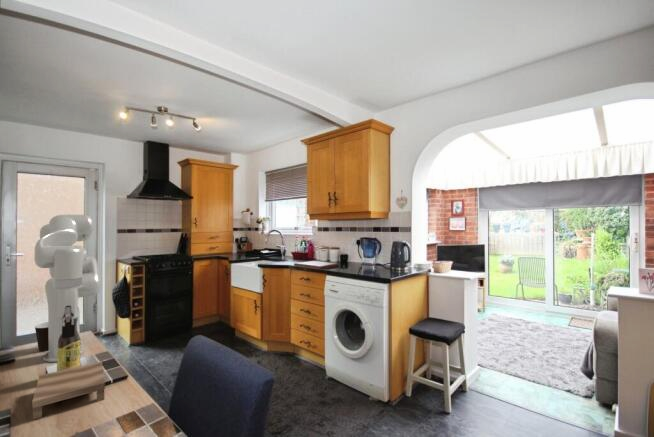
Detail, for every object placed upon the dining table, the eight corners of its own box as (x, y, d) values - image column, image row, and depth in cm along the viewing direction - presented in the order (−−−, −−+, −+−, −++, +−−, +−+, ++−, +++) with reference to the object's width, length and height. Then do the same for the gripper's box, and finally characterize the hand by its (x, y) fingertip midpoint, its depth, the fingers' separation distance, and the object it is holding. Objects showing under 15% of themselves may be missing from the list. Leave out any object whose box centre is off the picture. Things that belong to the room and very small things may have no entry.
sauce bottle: (66, 381, 106) (66, 321, 105) (51, 379, 107) (51, 320, 107) (85, 371, 112) (85, 315, 112) (71, 370, 113) (70, 314, 113)
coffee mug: (39, 354, 126) (39, 329, 126) (31, 349, 131) (31, 325, 131) (74, 344, 136) (74, 321, 136) (66, 340, 141) (66, 317, 141)
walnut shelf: (39, 391, 100) (39, 375, 100) (101, 375, 109) (101, 361, 109) (32, 420, 85) (32, 401, 85) (104, 399, 95) (104, 382, 95)
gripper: (56, 281, 114) (56, 328, 114) (52, 289, 100) (52, 343, 100) (82, 278, 118) (82, 324, 118) (82, 286, 105) (82, 338, 105)
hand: (68, 333), depth 109 cm, fingers open, 9 cm apart
